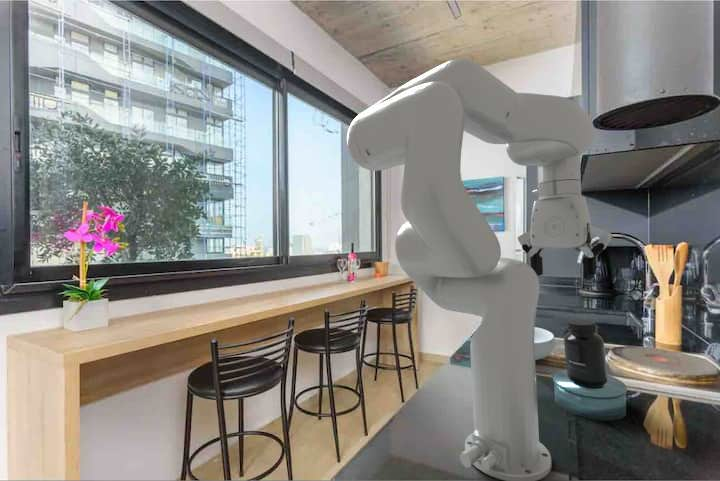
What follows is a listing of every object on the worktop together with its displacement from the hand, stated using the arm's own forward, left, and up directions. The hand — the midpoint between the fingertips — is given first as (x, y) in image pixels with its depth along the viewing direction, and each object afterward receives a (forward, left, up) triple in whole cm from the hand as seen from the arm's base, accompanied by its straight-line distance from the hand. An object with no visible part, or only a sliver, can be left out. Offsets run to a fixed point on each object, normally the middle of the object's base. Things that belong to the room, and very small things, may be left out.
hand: (561, 276), depth 70 cm
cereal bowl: (+20, +19, -26) cm, 38 cm away
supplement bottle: (+3, -3, -21) cm, 22 cm away
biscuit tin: (+3, -3, -26) cm, 27 cm away
